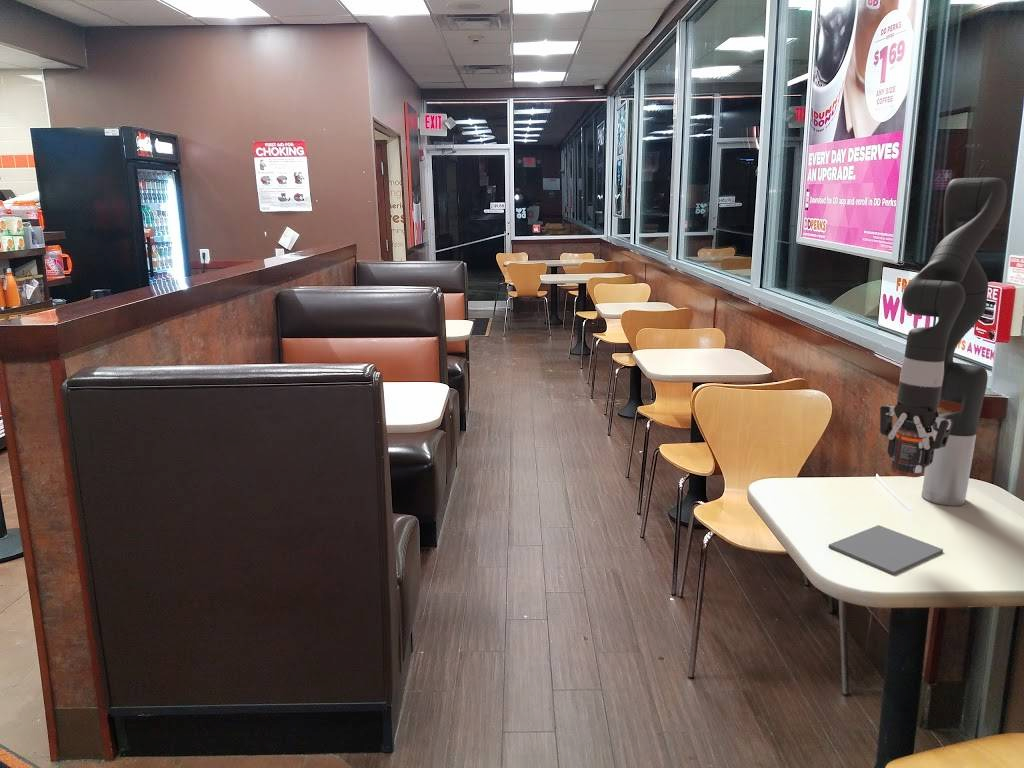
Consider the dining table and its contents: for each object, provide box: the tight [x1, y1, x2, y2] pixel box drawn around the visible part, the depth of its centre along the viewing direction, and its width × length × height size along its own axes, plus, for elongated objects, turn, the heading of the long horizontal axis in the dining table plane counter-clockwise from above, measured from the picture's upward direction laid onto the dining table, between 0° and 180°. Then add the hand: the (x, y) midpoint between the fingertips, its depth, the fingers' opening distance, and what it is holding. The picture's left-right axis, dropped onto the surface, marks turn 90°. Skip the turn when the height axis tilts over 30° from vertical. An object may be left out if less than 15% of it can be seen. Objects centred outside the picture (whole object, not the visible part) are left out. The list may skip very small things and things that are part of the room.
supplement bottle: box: [891, 420, 927, 478], centre depth 154 cm, size 6×6×11 cm
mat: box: [828, 524, 944, 576], centre depth 156 cm, size 18×14×1 cm
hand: (908, 461), depth 155 cm, fingers closed on supplement bottle, 6 cm apart
